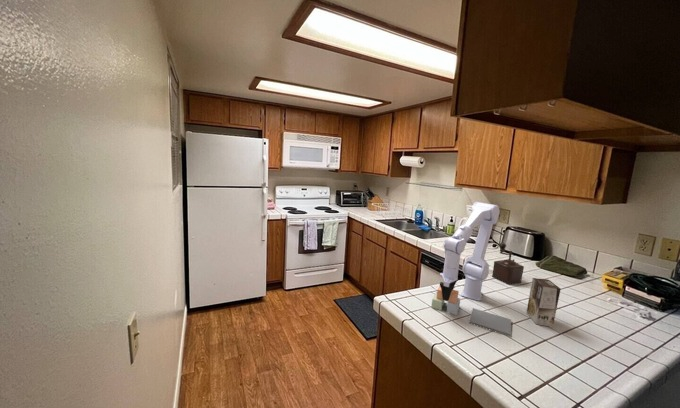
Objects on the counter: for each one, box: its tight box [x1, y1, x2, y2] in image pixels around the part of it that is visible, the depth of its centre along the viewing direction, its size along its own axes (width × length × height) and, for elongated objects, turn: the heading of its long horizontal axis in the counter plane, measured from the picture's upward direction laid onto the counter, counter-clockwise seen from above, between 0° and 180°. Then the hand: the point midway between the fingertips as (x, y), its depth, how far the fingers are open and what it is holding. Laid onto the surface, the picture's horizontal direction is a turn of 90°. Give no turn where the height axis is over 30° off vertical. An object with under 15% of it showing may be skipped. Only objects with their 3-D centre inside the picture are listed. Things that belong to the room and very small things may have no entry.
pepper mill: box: [491, 242, 525, 286], centre depth 155 cm, size 16×11×18 cm
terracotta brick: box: [436, 285, 459, 304], centre depth 119 cm, size 8×4×4 cm, turn 62°
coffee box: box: [526, 277, 562, 328], centre depth 114 cm, size 9×6×16 cm
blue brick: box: [446, 297, 461, 316], centre depth 119 cm, size 8×4×4 cm, turn 150°
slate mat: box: [468, 307, 512, 337], centre depth 111 cm, size 12×14×1 cm
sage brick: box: [431, 291, 445, 311], centre depth 122 cm, size 8×4×4 cm, turn 151°
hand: (447, 296), depth 120 cm, fingers open, 7 cm apart
